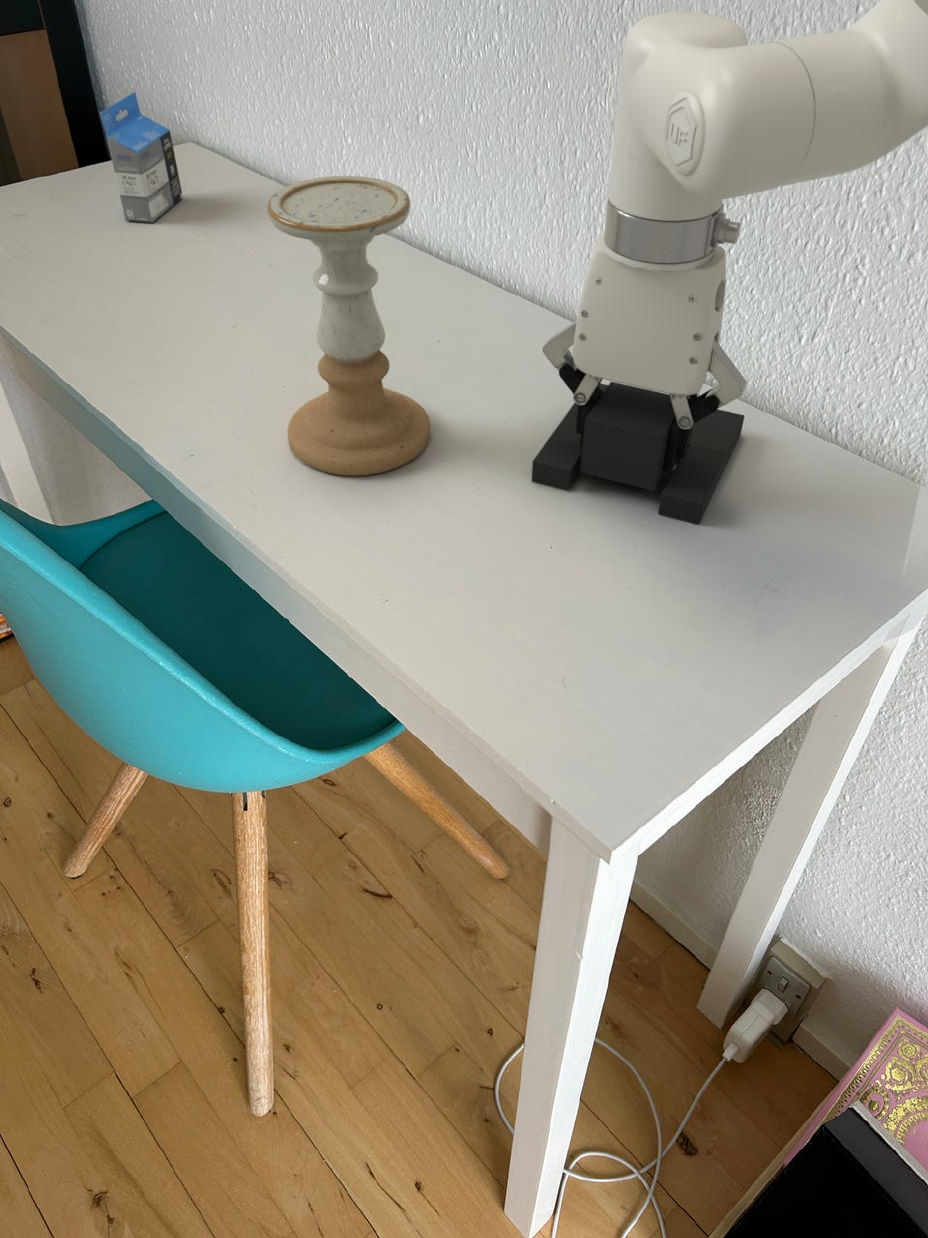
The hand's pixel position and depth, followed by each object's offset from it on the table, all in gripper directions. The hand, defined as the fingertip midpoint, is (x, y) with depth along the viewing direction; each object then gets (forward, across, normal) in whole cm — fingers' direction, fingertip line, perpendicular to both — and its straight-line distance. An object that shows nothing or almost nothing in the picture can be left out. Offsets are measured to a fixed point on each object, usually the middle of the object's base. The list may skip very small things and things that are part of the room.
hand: (630, 450), depth 78 cm
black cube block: (+1, 0, 0) cm, 1 cm away
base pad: (+3, 0, -3) cm, 4 cm away
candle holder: (+3, +23, +4) cm, 23 cm away
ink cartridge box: (+3, +72, -31) cm, 79 cm away
